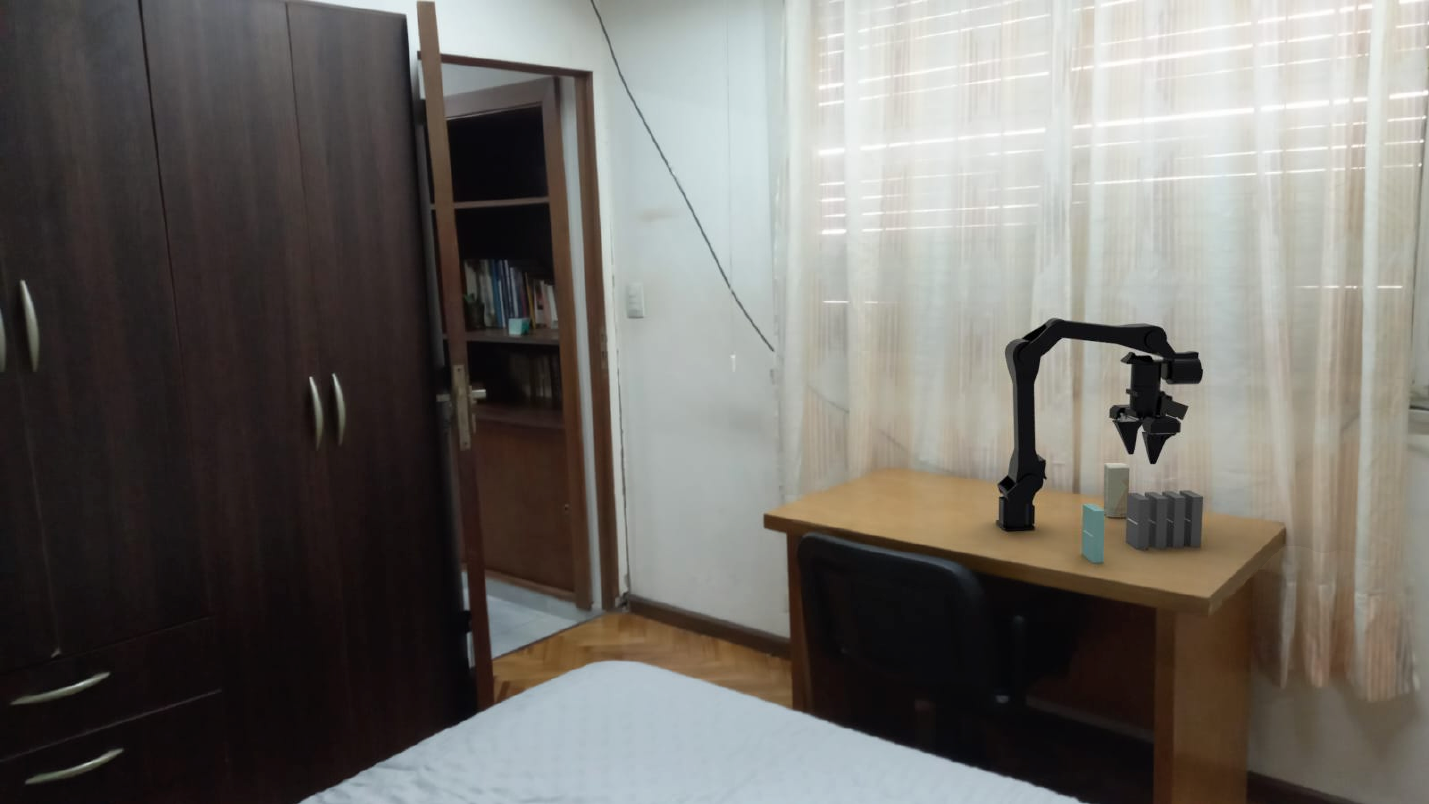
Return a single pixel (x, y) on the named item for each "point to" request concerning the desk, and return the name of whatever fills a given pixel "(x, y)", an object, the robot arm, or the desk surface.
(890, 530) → the desk surface
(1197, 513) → the tile
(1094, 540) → the head tile
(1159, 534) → the tile
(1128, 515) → the tile
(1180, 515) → the tile
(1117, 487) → the box
